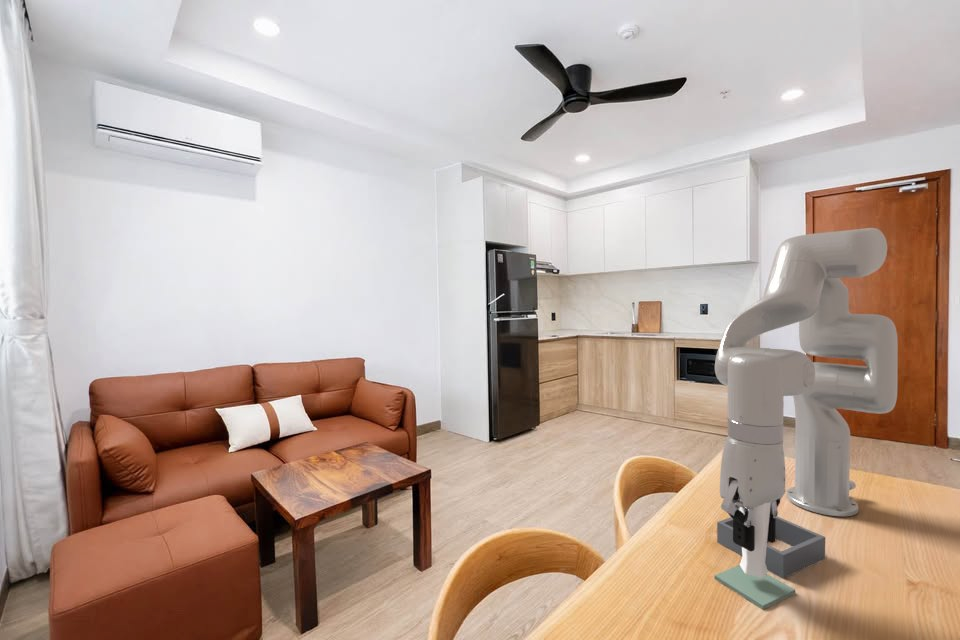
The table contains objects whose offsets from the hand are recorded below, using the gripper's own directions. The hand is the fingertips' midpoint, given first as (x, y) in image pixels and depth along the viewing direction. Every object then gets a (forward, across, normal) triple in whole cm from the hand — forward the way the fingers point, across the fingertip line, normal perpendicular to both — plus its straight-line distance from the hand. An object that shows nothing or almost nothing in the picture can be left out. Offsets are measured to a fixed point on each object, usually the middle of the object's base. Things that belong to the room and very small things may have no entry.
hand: (754, 541), depth 70 cm
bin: (+7, -12, -5) cm, 15 cm away
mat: (+7, 0, 0) cm, 7 cm away
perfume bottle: (+5, 0, 0) cm, 5 cm away
